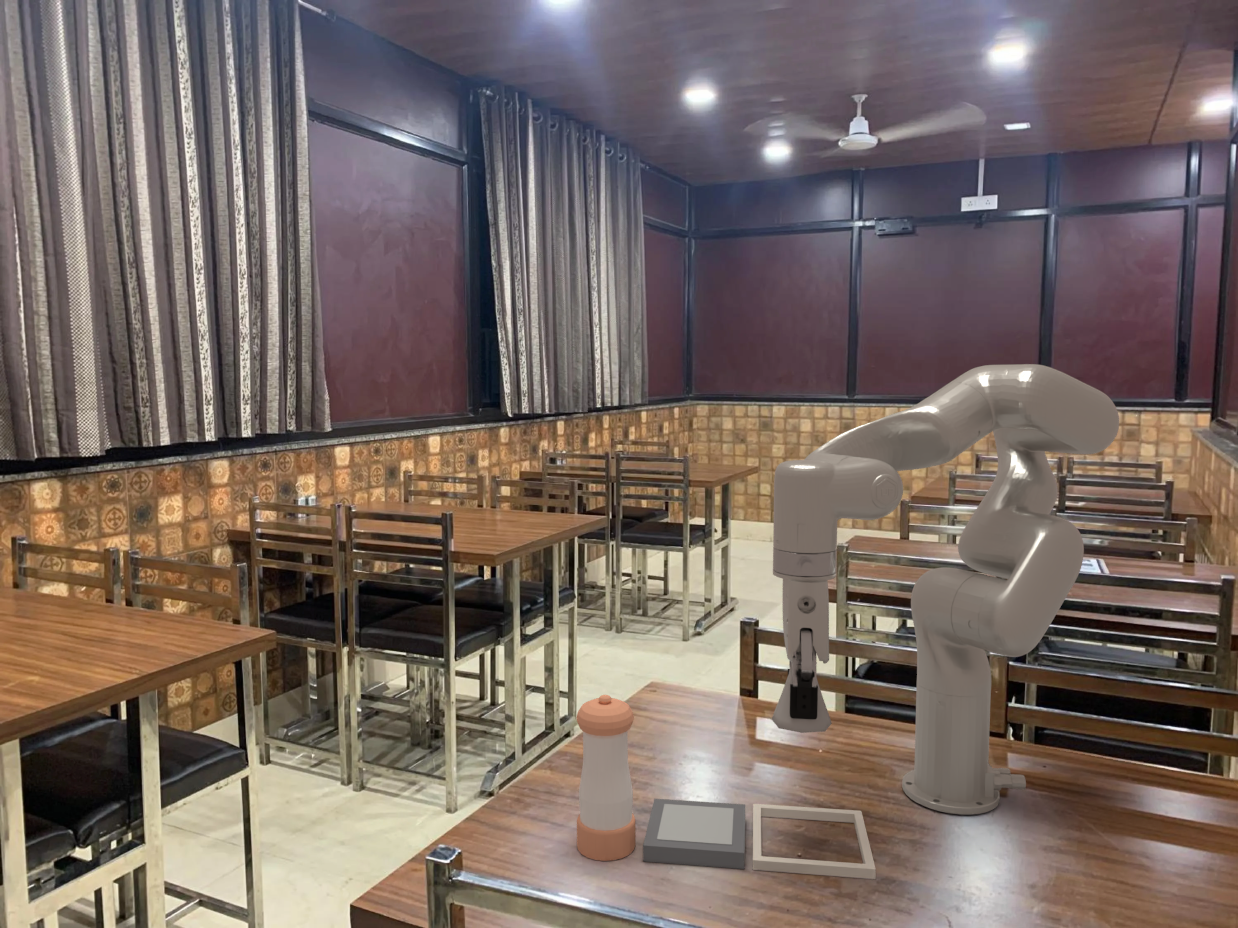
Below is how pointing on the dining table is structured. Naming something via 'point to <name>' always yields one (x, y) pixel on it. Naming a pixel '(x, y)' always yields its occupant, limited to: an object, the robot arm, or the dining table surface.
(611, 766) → the salt shaker
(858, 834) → the tray frame
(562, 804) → the dining table surface
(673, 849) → the slate pad
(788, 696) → the flask
